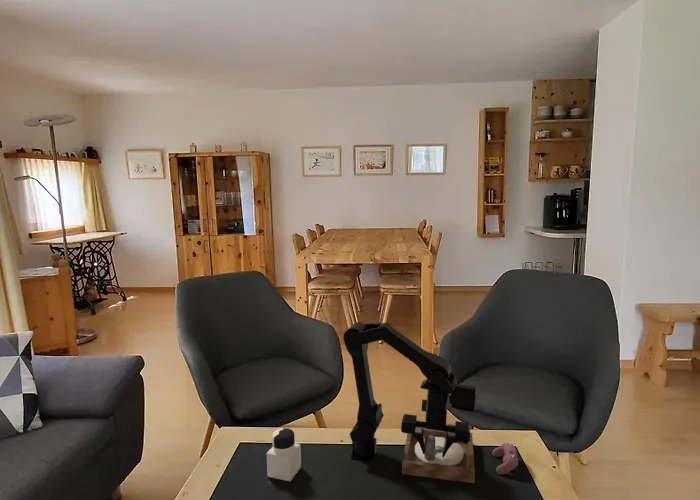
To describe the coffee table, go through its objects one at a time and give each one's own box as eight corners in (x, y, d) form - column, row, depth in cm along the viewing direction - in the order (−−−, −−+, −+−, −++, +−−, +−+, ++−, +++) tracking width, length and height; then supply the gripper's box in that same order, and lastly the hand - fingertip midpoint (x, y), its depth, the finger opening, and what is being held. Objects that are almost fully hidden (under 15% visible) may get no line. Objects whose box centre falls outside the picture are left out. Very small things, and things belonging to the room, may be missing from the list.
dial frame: (402, 473, 125) (402, 461, 125) (408, 436, 144) (408, 425, 143) (474, 483, 121) (474, 470, 120) (471, 443, 140) (472, 432, 139)
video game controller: (510, 481, 124) (523, 462, 122) (495, 473, 124) (507, 453, 123) (504, 460, 133) (516, 441, 132) (490, 452, 134) (502, 434, 132)
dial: (430, 435, 142) (431, 413, 141) (472, 452, 133) (472, 429, 132) (405, 455, 132) (405, 432, 131) (448, 475, 122) (448, 450, 121)
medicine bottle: (301, 466, 129) (300, 427, 127) (290, 482, 122) (289, 441, 121) (279, 462, 131) (277, 423, 130) (267, 477, 125) (265, 436, 123)
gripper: (470, 394, 131) (466, 443, 134) (406, 386, 135) (403, 434, 138) (472, 414, 121) (467, 467, 123) (402, 405, 124) (399, 456, 127)
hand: (433, 454), depth 128 cm, fingers open, 5 cm apart
